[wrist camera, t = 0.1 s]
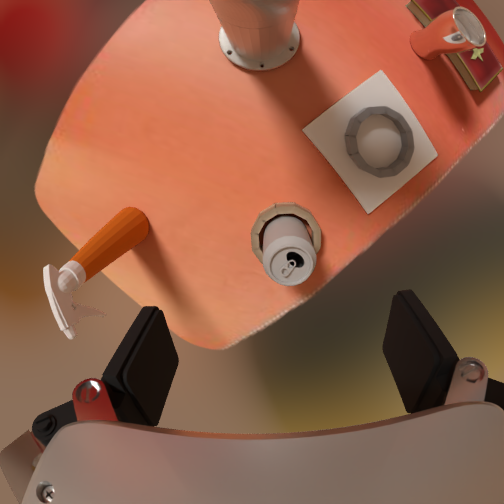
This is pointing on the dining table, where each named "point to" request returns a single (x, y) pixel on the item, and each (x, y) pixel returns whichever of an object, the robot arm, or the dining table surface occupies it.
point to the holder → (372, 141)
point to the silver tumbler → (449, 34)
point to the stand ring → (283, 209)
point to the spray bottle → (91, 266)
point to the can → (288, 251)
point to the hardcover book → (467, 63)
